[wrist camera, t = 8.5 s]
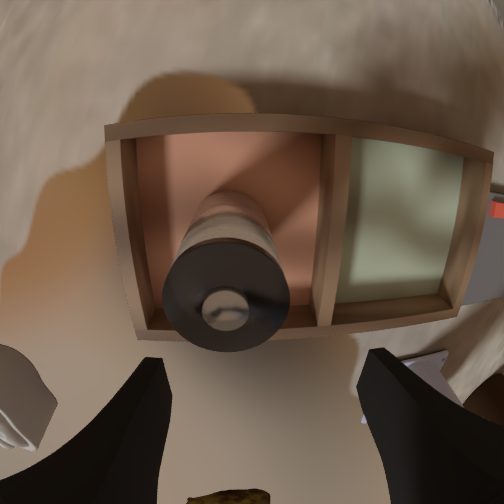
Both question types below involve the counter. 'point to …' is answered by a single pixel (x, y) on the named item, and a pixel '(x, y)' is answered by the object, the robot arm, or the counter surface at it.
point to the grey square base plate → (489, 256)
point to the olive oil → (488, 400)
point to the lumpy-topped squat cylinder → (22, 402)
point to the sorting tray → (306, 213)
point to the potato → (233, 497)
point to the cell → (227, 277)
